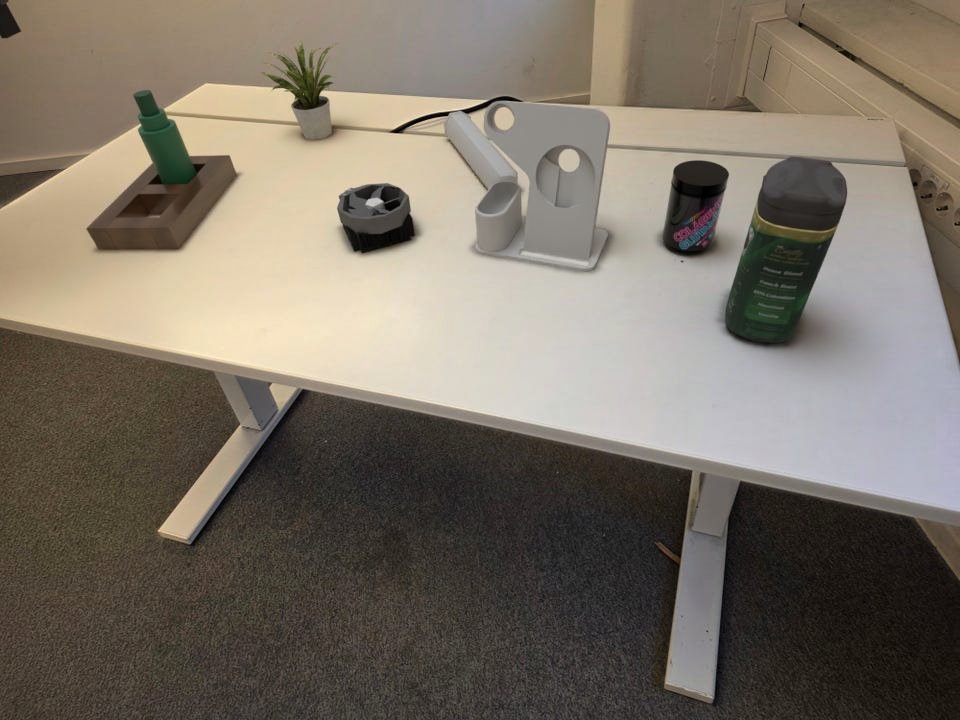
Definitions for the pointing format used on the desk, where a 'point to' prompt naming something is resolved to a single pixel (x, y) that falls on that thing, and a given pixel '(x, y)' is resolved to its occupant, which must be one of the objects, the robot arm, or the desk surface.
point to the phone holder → (546, 186)
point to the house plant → (307, 94)
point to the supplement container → (694, 206)
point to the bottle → (163, 141)
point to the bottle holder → (162, 208)
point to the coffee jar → (785, 248)
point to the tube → (478, 150)
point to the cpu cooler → (375, 216)
